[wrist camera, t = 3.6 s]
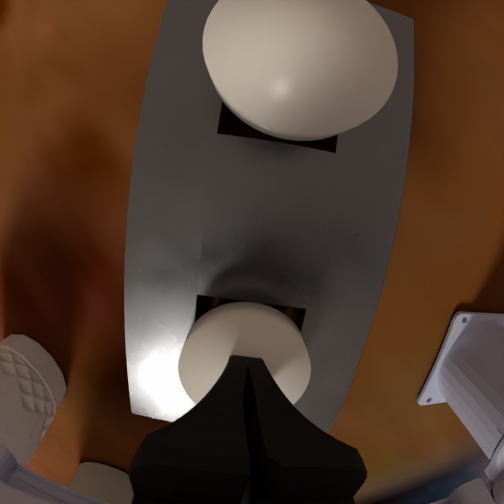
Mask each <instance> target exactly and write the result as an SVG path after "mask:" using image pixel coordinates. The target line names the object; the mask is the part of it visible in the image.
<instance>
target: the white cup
mask: <svg viewBox="0 0 504 504" xmlns="http://www.w3.org/2000/svg"><path fill="white" fill-rule="evenodd" d="M66 390H67V387H66V384H65V380H64V376H63V373H62V371H61V370H60V368H59V367H58V365H57V363H56V362H55V360H54V359H53V357H52V356H51V355H50V354H49V353H48V352H47V351H46V350H45V349H44V348H43V347H42V346H41V345H40V344H39V343H38V342H36V341H34V340H33V339H31V338H29V337H27V336H25V335H20V334H11V335H10V336H8V337H7V338H6V339H4V340H3V341H1V342H0V444H1V445H3V446H4V447H6V448H7V449H8V450H9V451H10V452H11V453H12V454H13V455H14V457H15V459H16V461H17V463H18V464H20V465H21V466H23V467H25V468H26V467H27V465H28V463H29V462H30V460H31V458H32V456H33V454H34V453H35V451H36V449H37V447H38V446H39V444H40V442H41V440H42V438H43V436H44V434H45V432H46V430H47V429H48V427H49V425H50V424H51V422H52V420H53V417H54V414H55V413H56V411H57V410H58V408H59V407H60V405H61V403H62V402H63V400H64V397H65V393H66Z"/></svg>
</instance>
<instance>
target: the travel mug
mask: <svg viewBox="0 0 504 504" xmlns="http://www.w3.org/2000/svg"><path fill="white" fill-rule="evenodd" d="M68 488H69V489H72V490H74V491H77V492H79V493H82V494H84V495H87V496H90V497H93V498H95V499H98V500H101V501H104V502H107V503H110V504H131V503H132V499H133V496H134V493H133V490H132V486H131V483H130V479H129V475H128V474H126V473H125V472H123V471H121V470H118V469H116V468H113V467H110V466H107V465H104V464H100V463H94V462H84V463H81V464H80V465H79V466H78V468H77V470H76V472H75V474H74V476H73V478H72V480H71V482H70V484H69V486H68Z"/></svg>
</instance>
